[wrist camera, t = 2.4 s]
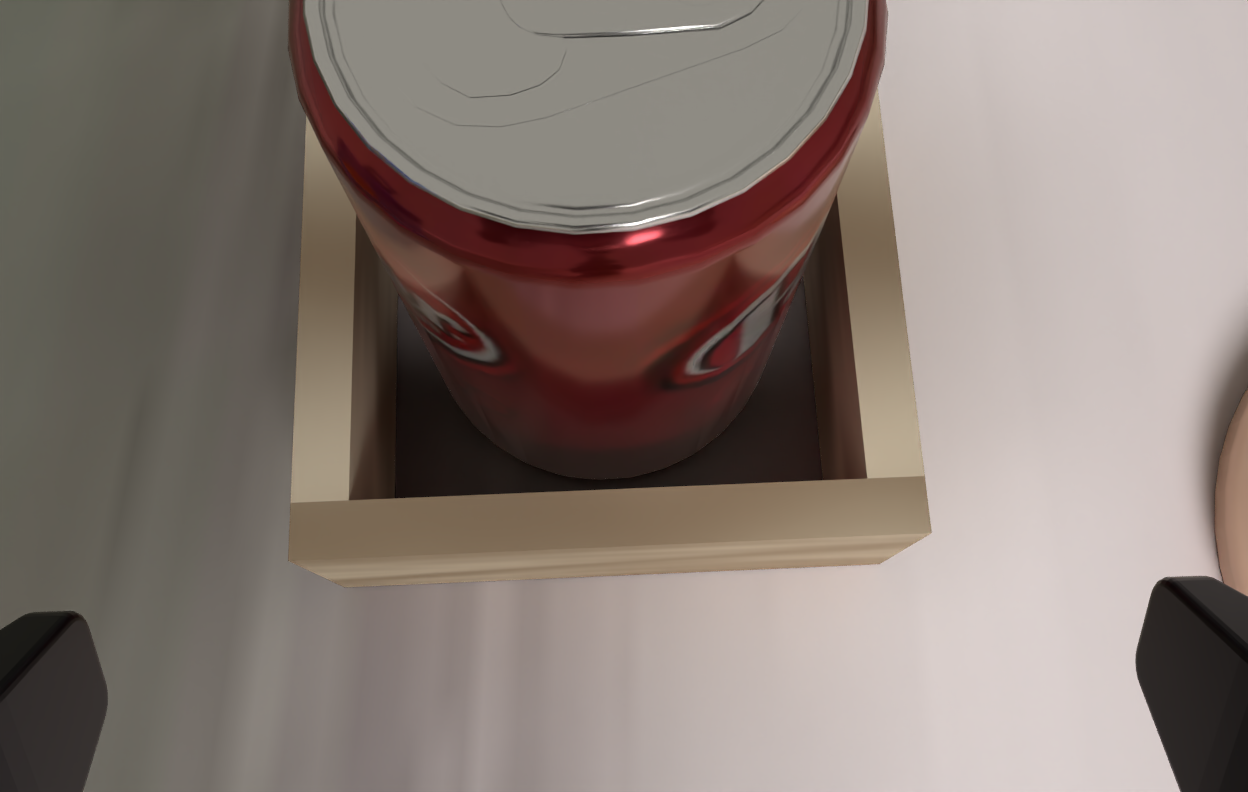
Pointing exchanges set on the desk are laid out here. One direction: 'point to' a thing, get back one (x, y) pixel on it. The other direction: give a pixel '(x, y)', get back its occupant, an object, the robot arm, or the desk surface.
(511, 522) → the birch box
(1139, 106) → the desk surface
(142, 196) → the desk surface
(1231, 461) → the coaster
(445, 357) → the soda can
